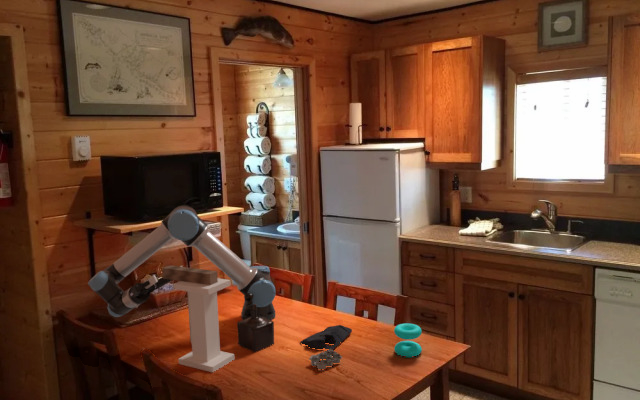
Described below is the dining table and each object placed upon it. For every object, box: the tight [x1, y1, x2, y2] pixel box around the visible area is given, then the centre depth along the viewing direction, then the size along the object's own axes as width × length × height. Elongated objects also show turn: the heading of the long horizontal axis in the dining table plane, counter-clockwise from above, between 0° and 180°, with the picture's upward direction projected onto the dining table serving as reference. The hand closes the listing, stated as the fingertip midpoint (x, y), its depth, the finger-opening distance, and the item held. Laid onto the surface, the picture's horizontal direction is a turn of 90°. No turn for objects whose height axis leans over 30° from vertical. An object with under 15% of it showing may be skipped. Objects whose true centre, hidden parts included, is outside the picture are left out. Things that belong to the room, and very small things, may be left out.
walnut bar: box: [161, 265, 219, 285], centre depth 197 cm, size 22×4×4 cm, turn 62°
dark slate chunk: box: [299, 324, 353, 351], centre depth 216 cm, size 15×22×5 cm
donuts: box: [393, 322, 423, 358], centre depth 201 cm, size 10×10×10 cm
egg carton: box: [308, 349, 344, 369], centre depth 194 cm, size 11×8×4 cm
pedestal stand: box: [173, 277, 236, 373], centre depth 197 cm, size 16×12×30 cm
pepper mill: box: [236, 293, 275, 353], centre depth 213 cm, size 16×11×18 cm
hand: (169, 273), depth 202 cm, fingers open, 13 cm apart
